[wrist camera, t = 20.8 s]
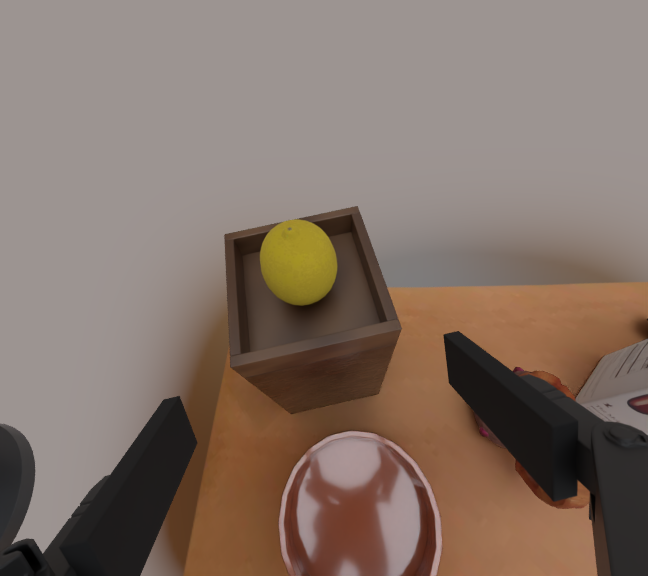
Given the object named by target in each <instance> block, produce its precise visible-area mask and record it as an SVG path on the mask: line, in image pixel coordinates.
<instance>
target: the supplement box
mask: <svg viewBox="0 0 648 576" xmlns="http://www.w3.org/2000/svg"><path fill="white" fill-rule="evenodd" d="M576 402H577V403H579V404H580V405H582V406H583V407H585V408H586V409H588V410H589V411H590V412H592V413H593V414H595V415H596V416H598V417H599V418H601V419H602V420H604V421H610V422H619V423H623V424H626V425H630V426H632V427H635V428H637V429H639V430H641V431H643V432H644V433H645V434H647V435H648V339H645V340H643V341H641V342H638V343H636V344H633V345H631V346H628V347H626V348H623V349H621V350H618V351H616V352H613V353H611V354H608V355H606V356H603V357H602V359H601V360H600V362H599V363H598V365H597V367H596V368H595V370H594V371H593V373H592V374H591V376H590V377H589V379H588V380H587V382H586V383H585V385H584V386H583V388H582V389H581V391H580V393H579V394H578V396H577V397H576Z"/></svg>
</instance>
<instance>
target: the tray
mask: <svg viewBox="0 0 648 576" xmlns="http://www.w3.org/2000/svg"><path fill="white" fill-rule="evenodd" d="M294 220H297V219H294ZM298 220H305V221H308V222H311V223H313V224H315V225H316V226H318V227H320V228H321V229H322V230H323V231H324V232H325V234H326V235H327V236H328V237H329V239H330V241H331V243H332V245H333V247H334V250H335V253H336V258H337V274H336V279H335V282H334V284H333V286H332V288H331V290H330V291H329V292H328V293H327V294H326V296H325V297H323V298H322V299H320V300H319V301H317V302H315V303H312V304H309V305H303V306H301V305H293V304H289V303H286V302H284V301H283V300H281V299H279V298H278V297H277V296H276V295H275V294H274V293H273V292H272V291H271V290H270V289H269V287H268V286H267V284H266V282H265V280H264V278H263V275H262V272H261V264H260V252H261V246H262V243H263V241H264V239H265V237H266V235H267V234H268V233H269V232H270V230H271V229H273V228H274V227H275V226H277V225H278V224H280V223H275V224H271V225H266V226H262V227H257V228H252V229H248V230H243V231H238V232H233V233H229V234H225V235H224V236H225V259H226V278H227V279H226V281H227V301H228V322H229V345H230V356H231V357H230V367H231V368H232V369H233V370H235V371H236V372H237V373H239V374H240V375H241V376H242V377H244V378H246V377H250V376H255V375H259V374H264V373H268V372H272V371H277V370H281V369H286V368H290V367H294V366H299V365H303V364H308V363H312V362H317V361H321V360H325V359H330V358H334V357H339V356H343V355H347V354H352V353H356V352H361V351H365V350H370V349H374V348H378V347H383V346H387V345H392V344H396V343H397V340H398V338H399V335H400V332H401V329H402V328H401V325H400V323H399V320H398V317H397V314H396V311H395V309H394V306H393V303H392V300H391V297H390V295H389V292H388V289H387V286H386V284H385V281H384V278H383V275H382V272H381V270H380V267H379V264H378V261H377V258H376V256H375V253H374V250H373V247H372V245H371V242H370V239H369V236H368V233H367V231H366V228H365V225H364V222H363V219H362V217H361V214H360V212H359V209H358V206H355V207H351V208H346V209H341V210H336V211H332V212H328V213H323V214H318V215H313V216H309V217H304V218H299V219H298ZM281 223H282V222H281Z"/></svg>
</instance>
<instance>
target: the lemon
mask: <svg viewBox="0 0 648 576" xmlns="http://www.w3.org/2000/svg"><path fill="white" fill-rule="evenodd" d="M260 264H261V272H262V275H263V278H264V280H265V282H266V284H267V286H268V287H269V289H270V290H271V291H272V292H273V293H274V294H275V295H276V296H277V297H278V298H279V299H281V300H283V301H284V302H286V303H289V304H293V305H301V306H303V305H309V304H312V303H315V302H317V301H319V300H320V299H322V298H323V297H325V296H326V294H327V293H328V292H329V291H330V290H331V288H332V286H333V284H334V282H335V279H336V274H337V258H336V253H335V250H334V247H333V245H332V243H331V241H330V239H329V237H328V236H327V235H326V234H325V232H324V231H323V230H322V229H321V228H320V227H318V226H316V225H315V224H313V223H311V222H308V221H305V220H298V219H297V220H289V221H285V222H282V223H280V224H278V225H277V226H275V227H274V228H273V229H271V230H270V232H269V233H268V234H267V235H266V237H265V239H264V241H263V243H262V246H261V252H260Z"/></svg>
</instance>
